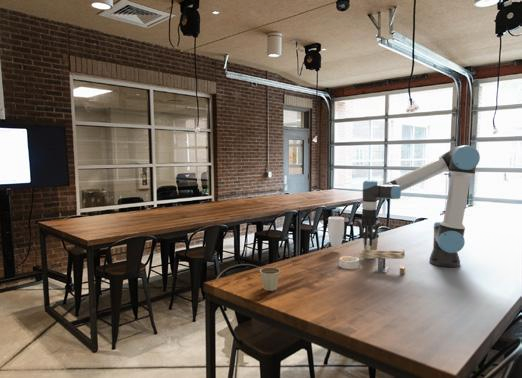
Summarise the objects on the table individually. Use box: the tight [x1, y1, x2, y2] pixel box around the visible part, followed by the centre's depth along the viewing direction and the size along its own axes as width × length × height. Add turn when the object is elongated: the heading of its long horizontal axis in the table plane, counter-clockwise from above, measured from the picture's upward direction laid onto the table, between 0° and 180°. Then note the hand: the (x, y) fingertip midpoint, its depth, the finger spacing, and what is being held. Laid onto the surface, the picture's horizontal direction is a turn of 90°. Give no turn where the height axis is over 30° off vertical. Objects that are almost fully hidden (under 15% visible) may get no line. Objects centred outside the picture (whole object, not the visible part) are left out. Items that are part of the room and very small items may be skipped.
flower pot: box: [259, 266, 281, 292], centre depth 166 cm, size 9×9×9 cm
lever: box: [358, 249, 405, 260], centre depth 193 cm, size 22×13×3 cm, turn 62°
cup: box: [327, 216, 345, 249], centre depth 227 cm, size 10×10×22 cm
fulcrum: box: [373, 258, 406, 276], centre depth 188 cm, size 14×11×7 cm
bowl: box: [338, 255, 360, 270], centre depth 198 cm, size 10×10×4 cm
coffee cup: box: [362, 230, 380, 260], centre depth 213 cm, size 9×9×15 cm
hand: (368, 251), depth 200 cm, fingers closed
